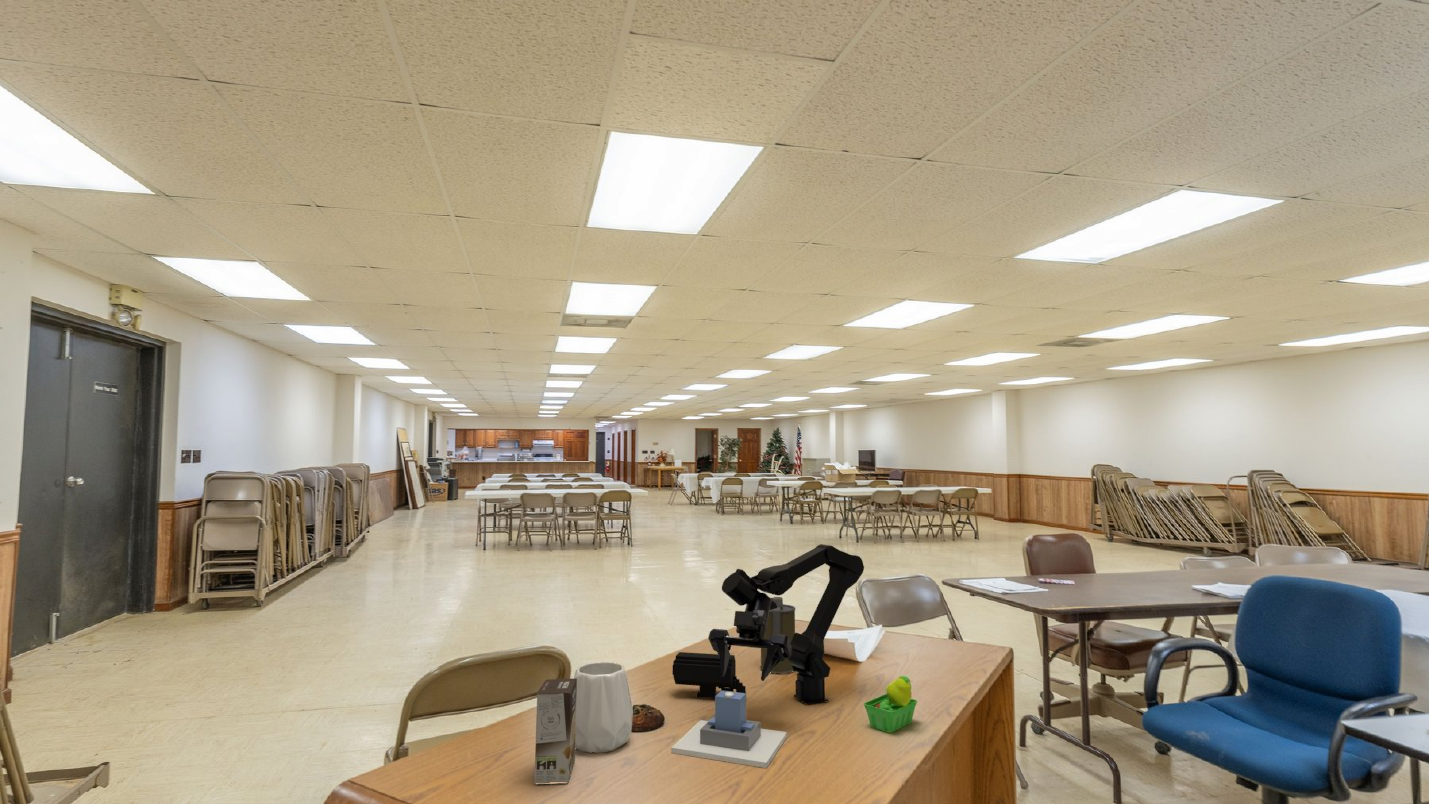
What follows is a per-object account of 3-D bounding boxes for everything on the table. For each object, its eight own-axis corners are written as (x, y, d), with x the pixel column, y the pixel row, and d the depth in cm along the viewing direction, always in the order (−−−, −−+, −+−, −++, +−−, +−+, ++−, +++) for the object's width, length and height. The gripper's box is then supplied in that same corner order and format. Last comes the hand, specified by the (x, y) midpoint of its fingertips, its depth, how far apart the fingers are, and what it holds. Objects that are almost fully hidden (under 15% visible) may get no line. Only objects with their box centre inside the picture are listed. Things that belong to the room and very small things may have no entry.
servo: (706, 740, 137) (706, 692, 138) (712, 732, 141) (713, 686, 142) (749, 746, 134) (749, 697, 135) (755, 739, 138) (755, 691, 139)
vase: (602, 762, 129) (603, 682, 130) (550, 747, 136) (552, 671, 138) (646, 738, 141) (647, 664, 142) (596, 725, 148) (597, 655, 150)
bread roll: (664, 731, 144) (661, 708, 145) (614, 740, 143) (611, 716, 144) (666, 715, 155) (663, 693, 156) (619, 723, 154) (616, 701, 155)
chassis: (671, 752, 133) (671, 732, 134) (700, 724, 148) (700, 706, 149) (766, 768, 126) (766, 747, 127) (787, 737, 141) (786, 718, 142)
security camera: (743, 703, 162) (743, 661, 163) (670, 698, 165) (671, 657, 167) (747, 694, 168) (747, 654, 170) (677, 689, 172) (678, 650, 173)
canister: (761, 663, 196) (760, 594, 199) (796, 664, 195) (795, 595, 197) (758, 673, 186) (758, 601, 188) (795, 675, 184) (795, 602, 186)
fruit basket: (889, 714, 155) (888, 664, 156) (924, 724, 149) (922, 672, 150) (862, 727, 147) (861, 674, 148) (898, 738, 141) (896, 683, 142)
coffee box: (569, 784, 120) (571, 692, 121) (533, 785, 119) (536, 693, 121) (575, 762, 129) (577, 677, 131) (542, 763, 128) (544, 678, 130)
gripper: (710, 593, 155) (693, 653, 144) (788, 598, 149) (776, 662, 137) (722, 620, 162) (706, 680, 150) (796, 626, 155) (785, 689, 144)
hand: (742, 677), depth 145 cm, fingers open, 9 cm apart
